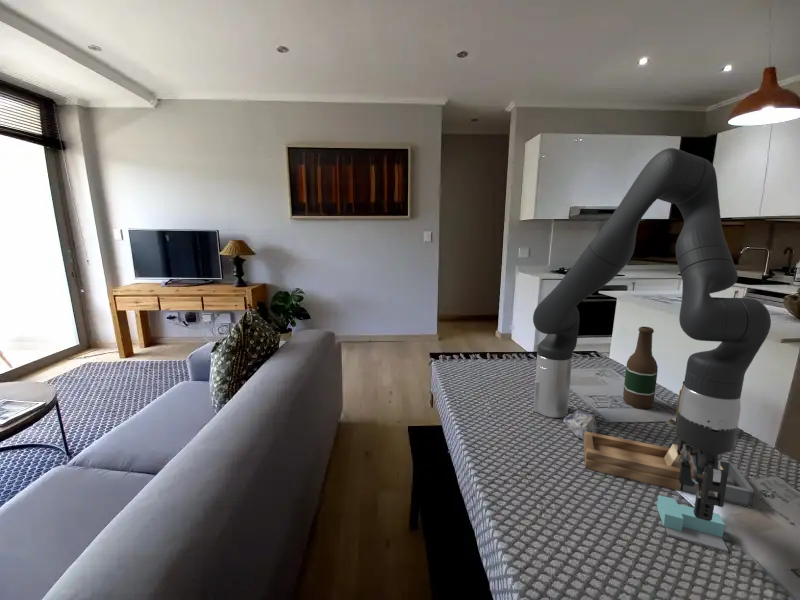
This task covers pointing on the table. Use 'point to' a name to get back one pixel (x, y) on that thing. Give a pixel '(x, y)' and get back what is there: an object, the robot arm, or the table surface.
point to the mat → (698, 538)
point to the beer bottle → (641, 373)
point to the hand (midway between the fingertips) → (693, 500)
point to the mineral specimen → (580, 423)
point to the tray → (732, 486)
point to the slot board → (629, 460)
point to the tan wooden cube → (673, 457)
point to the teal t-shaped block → (687, 517)
